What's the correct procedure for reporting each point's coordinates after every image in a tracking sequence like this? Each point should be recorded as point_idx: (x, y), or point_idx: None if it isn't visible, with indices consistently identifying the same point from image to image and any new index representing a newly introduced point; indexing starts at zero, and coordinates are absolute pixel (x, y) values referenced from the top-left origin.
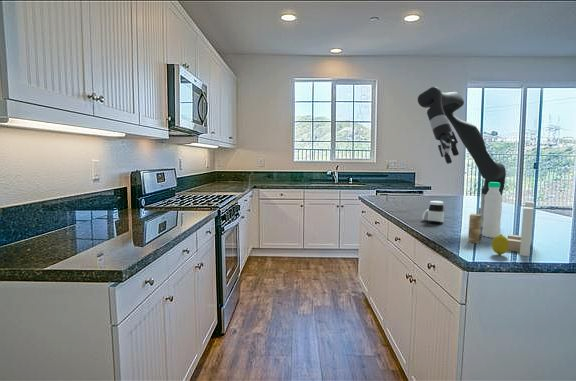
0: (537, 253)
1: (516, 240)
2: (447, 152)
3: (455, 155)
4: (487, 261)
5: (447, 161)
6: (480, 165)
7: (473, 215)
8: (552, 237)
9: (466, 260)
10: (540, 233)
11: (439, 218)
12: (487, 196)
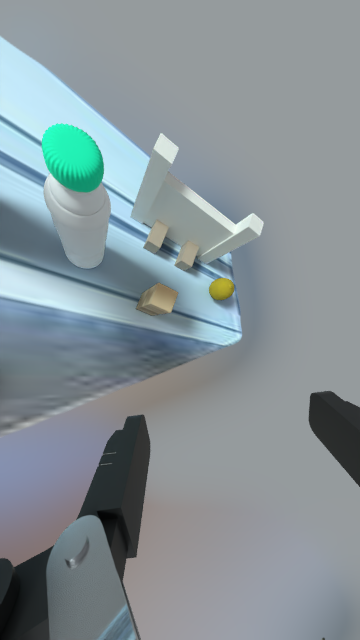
0: None
1: (191, 251)
2: (91, 613)
3: (313, 413)
4: (238, 316)
5: (148, 458)
6: None
7: (173, 305)
8: (58, 114)
9: (239, 339)
10: (9, 104)
11: None
12: (93, 223)
